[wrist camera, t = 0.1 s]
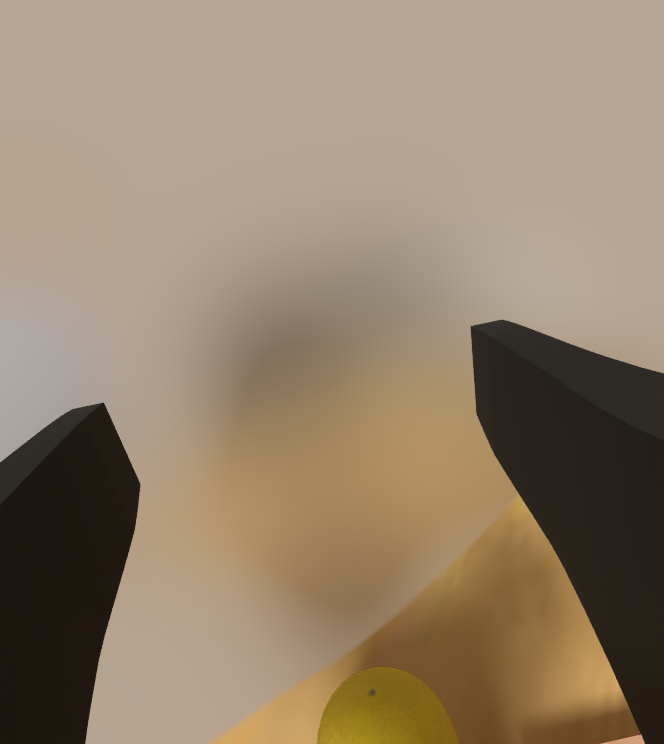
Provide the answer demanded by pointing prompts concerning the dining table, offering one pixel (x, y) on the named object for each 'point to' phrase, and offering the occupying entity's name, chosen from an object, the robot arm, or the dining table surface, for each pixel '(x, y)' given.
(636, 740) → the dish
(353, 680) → the lemon
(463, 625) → the dining table surface
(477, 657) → the dining table surface
